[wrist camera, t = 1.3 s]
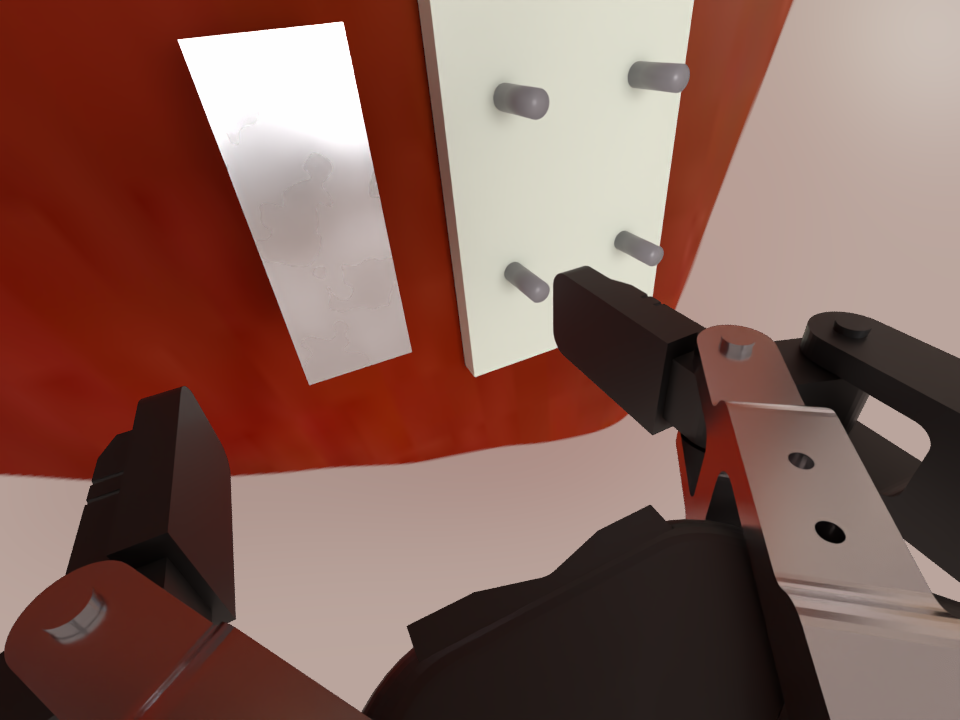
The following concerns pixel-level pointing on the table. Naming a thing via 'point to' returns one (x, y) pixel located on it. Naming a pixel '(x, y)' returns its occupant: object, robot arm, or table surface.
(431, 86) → the peg board
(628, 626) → the robot arm
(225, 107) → the plate
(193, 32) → the table surface
